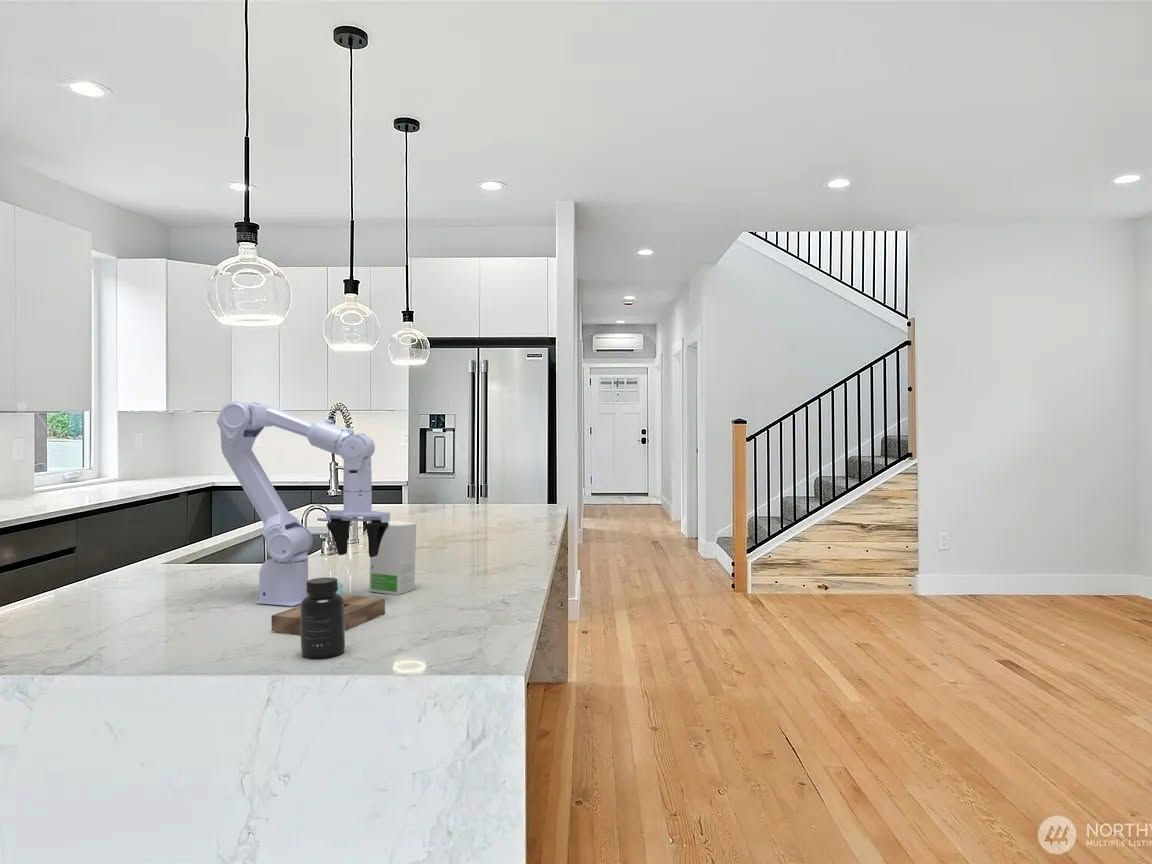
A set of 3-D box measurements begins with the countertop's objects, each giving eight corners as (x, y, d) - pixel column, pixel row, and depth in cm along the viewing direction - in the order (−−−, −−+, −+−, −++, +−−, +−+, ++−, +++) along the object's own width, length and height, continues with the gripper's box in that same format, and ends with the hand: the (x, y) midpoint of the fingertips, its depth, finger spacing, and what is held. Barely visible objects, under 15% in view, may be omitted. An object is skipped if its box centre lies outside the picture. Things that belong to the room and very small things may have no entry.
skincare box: (368, 592, 169) (368, 523, 169) (386, 586, 175) (386, 519, 175) (400, 595, 166) (399, 524, 166) (417, 589, 172) (417, 521, 172)
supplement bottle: (307, 647, 126) (306, 576, 126) (348, 646, 127) (348, 575, 127) (295, 660, 119) (295, 584, 119) (339, 659, 120) (339, 583, 120)
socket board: (271, 632, 136) (271, 615, 136) (333, 609, 153) (333, 594, 153) (327, 637, 132) (327, 620, 132) (384, 613, 149) (384, 598, 149)
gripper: (316, 491, 158) (316, 556, 158) (376, 493, 153) (376, 560, 153) (337, 489, 165) (337, 551, 165) (395, 490, 160) (395, 554, 160)
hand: (357, 555), depth 159 cm, fingers open, 7 cm apart
